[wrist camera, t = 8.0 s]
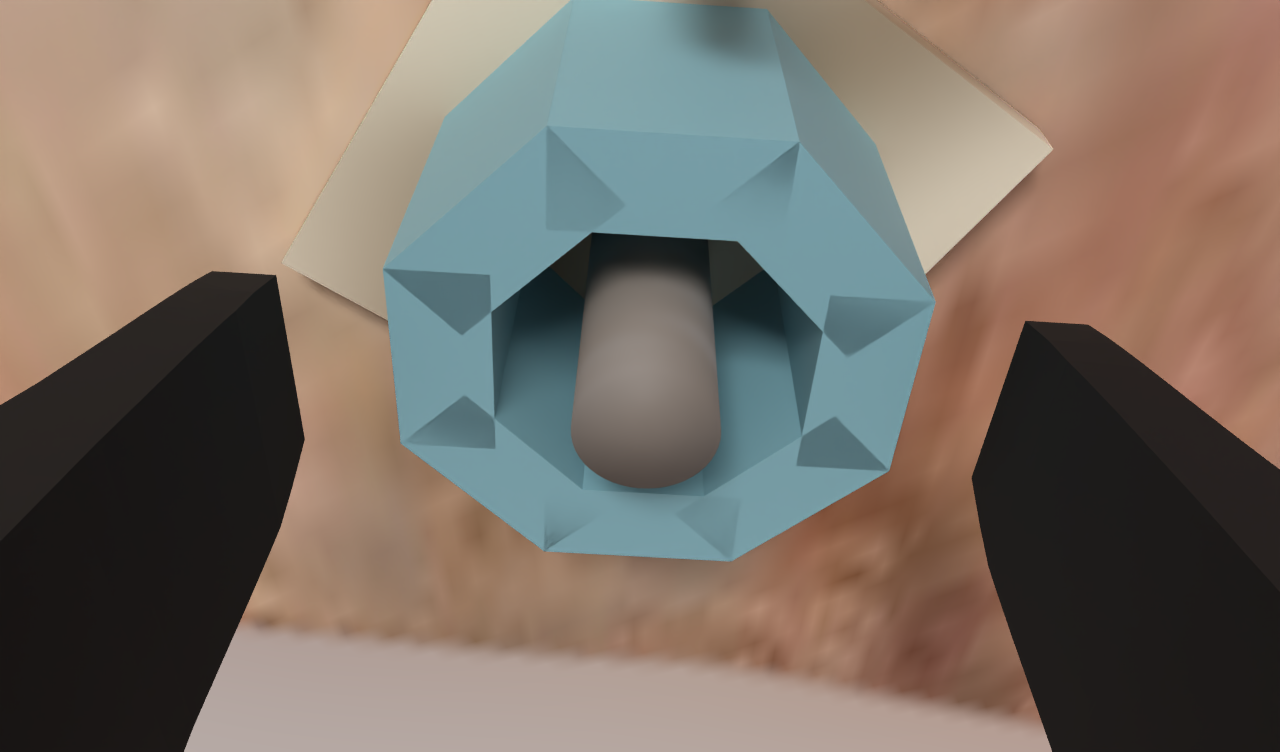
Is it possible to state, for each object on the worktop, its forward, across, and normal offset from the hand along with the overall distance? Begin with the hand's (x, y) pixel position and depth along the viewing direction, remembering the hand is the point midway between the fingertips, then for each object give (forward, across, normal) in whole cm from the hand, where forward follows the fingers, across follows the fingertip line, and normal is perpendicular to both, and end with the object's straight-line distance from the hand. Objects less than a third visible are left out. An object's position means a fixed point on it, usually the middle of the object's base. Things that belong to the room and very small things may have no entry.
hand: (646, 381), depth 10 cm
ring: (+4, 0, 0) cm, 4 cm away
